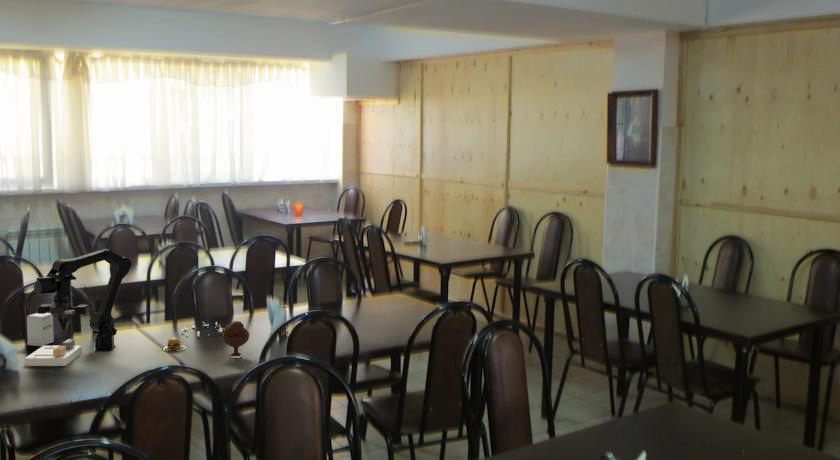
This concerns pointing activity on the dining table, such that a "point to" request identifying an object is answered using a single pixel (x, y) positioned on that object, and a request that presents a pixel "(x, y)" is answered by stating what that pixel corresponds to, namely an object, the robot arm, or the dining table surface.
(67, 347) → the block
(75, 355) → the fader panel
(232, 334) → the ice cream bowl
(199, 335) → the game piece set
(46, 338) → the supplement box
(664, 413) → the dining table surface
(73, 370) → the dining table surface
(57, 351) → the fader orange
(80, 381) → the dining table surface
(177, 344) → the cake on plate
